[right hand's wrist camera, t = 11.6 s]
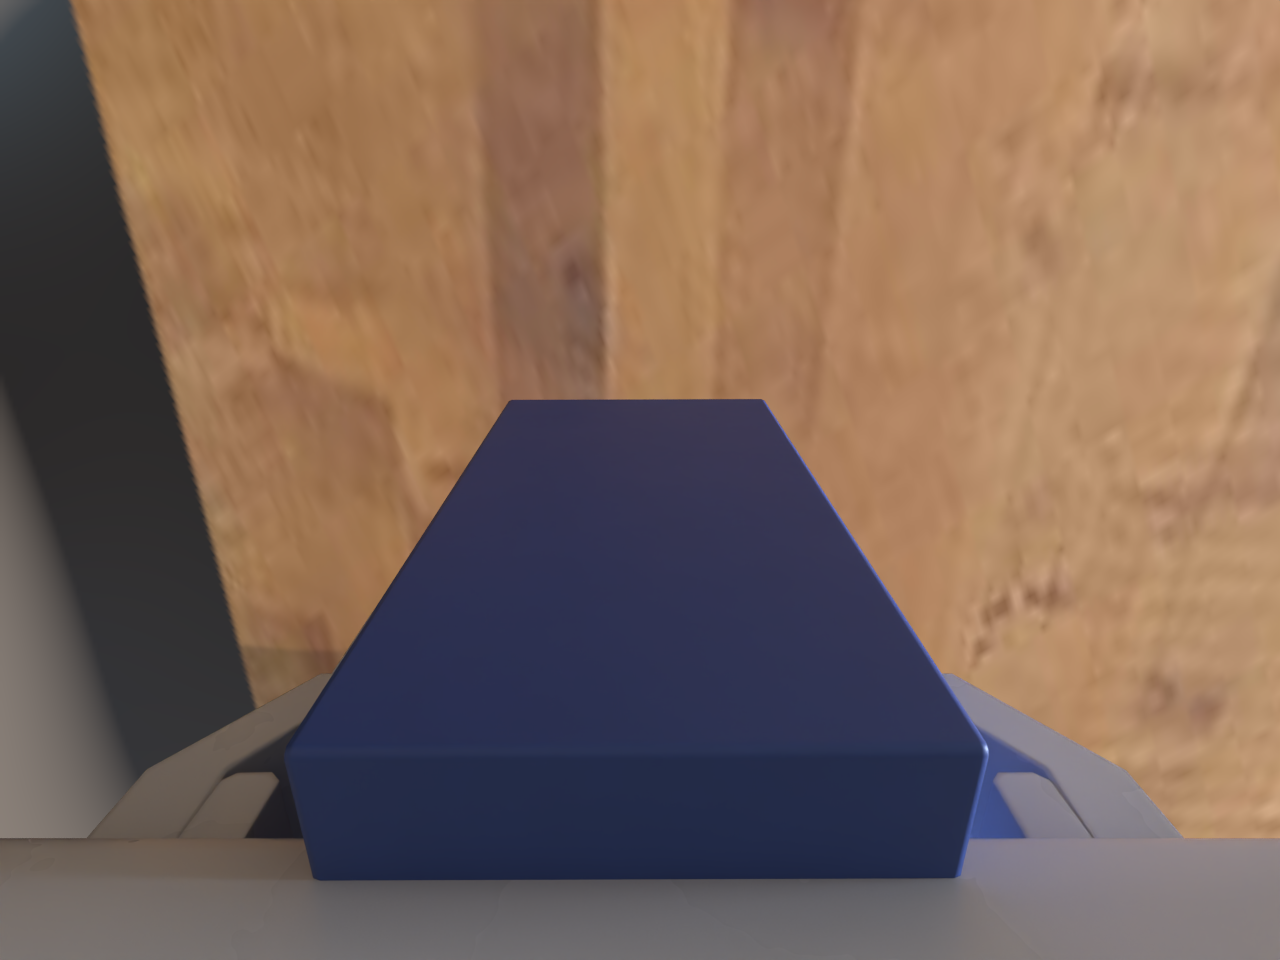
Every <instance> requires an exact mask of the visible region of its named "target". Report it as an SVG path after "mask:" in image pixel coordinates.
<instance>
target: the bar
mask: <svg viewBox="0 0 1280 960" xmlns="http://www.w3.org/2000/svg"><path fill="white" fill-rule="evenodd" d="M988 758H989V752H988V747H987V743H986V742H985V740H984V738H983V737H982V735H981V734H980V732H979V731H978V729H977V728H976V726H975V725H974V723H973V722H972V720H971V718H970V717H969V715H968V714H967V712H966V711H965V709H964V708H963V706H962V705H961V703H960V701H959V700H958V698H957V697H956V695H955V694H954V692H953V691H952V689H951V688H950V686H949V685H948V683H947V681H946V680H945V678H944V677H943V675H942V674H941V672H940V671H939V669H938V668H937V666H936V664H935V663H934V661H933V660H932V658H931V657H930V655H929V654H928V652H927V651H926V649H925V648H924V646H923V644H922V643H921V641H920V640H919V638H918V637H917V635H916V634H915V632H914V631H913V629H912V628H911V626H910V624H909V623H908V621H907V620H906V618H905V617H904V615H903V614H902V612H901V611H900V609H899V607H898V606H897V604H896V603H895V601H894V600H893V598H892V597H891V595H890V594H889V592H888V591H887V589H886V587H885V586H884V584H883V583H882V581H881V580H880V578H879V577H878V575H877V574H876V572H875V570H874V569H873V567H872V566H871V564H870V563H869V561H868V560H867V558H866V557H865V555H864V554H863V552H862V550H861V549H860V547H859V546H858V544H857V543H856V541H855V540H854V538H853V537H852V535H851V534H850V532H849V530H848V529H847V527H846V526H845V524H844V523H843V521H842V520H841V518H840V517H839V515H838V513H837V512H836V510H835V509H834V507H833V506H832V504H831V503H830V501H829V500H828V498H827V497H826V495H825V493H824V492H823V490H822V489H821V487H820V486H819V484H818V483H817V481H816V480H815V478H814V476H813V475H812V473H811V472H810V470H809V469H808V467H807V466H806V464H805V463H804V461H803V460H802V458H801V456H800V455H799V453H798V452H797V450H796V449H795V447H794V446H793V444H792V443H791V441H790V440H789V438H788V436H787V435H786V433H785V432H784V430H783V429H782V427H781V426H780V424H779V423H778V421H777V419H776V418H775V416H774V415H773V413H772V412H771V410H770V409H769V407H768V406H767V404H766V403H765V401H764V400H762V399H692V400H511V401H509V402H508V404H507V405H506V407H505V408H504V410H503V411H502V413H501V414H500V416H499V417H498V419H497V421H496V422H495V424H494V425H493V427H492V428H491V430H490V431H489V433H488V434H487V436H486V438H485V439H484V441H483V442H482V444H481V445H480V447H479V448H478V450H477V452H476V453H475V455H474V456H473V458H472V459H471V461H470V462H469V464H468V465H467V467H466V469H465V470H464V472H463V473H462V475H461V476H460V478H459V479H458V481H457V483H456V484H455V486H454V487H453V489H452V490H451V492H450V493H449V495H448V496H447V498H446V500H445V501H444V503H443V504H442V506H441V507H440V509H439V510H438V512H437V513H436V515H435V517H434V518H433V520H432V521H431V523H430V524H429V526H428V527H427V529H426V531H425V532H424V534H423V535H422V537H421V538H420V540H419V541H418V543H417V544H416V546H415V548H414V549H413V551H412V552H411V554H410V555H409V557H408V558H407V560H406V561H405V563H404V565H403V566H402V568H401V569H400V571H399V572H398V574H397V575H396V577H395V579H394V580H393V582H392V583H391V585H390V586H389V588H388V589H387V591H386V592H385V594H384V596H383V597H382V599H381V600H380V602H379V603H378V605H377V606H376V608H375V610H374V611H373V613H372V614H371V616H370V617H369V619H368V620H367V622H366V623H365V625H364V627H363V628H362V630H361V631H360V633H359V634H358V636H357V637H356V639H355V640H354V642H353V644H352V645H351V647H350V648H349V650H348V651H347V653H346V654H345V656H344V658H343V659H342V661H341V662H340V664H339V665H338V667H337V668H336V670H335V671H334V673H333V675H332V676H331V678H330V679H329V681H328V682H327V684H326V685H325V687H324V688H323V690H322V692H321V693H320V695H319V696H318V698H317V699H316V701H315V702H314V704H313V706H312V707H311V709H310V710H309V712H308V713H307V715H306V716H305V718H304V719H303V721H302V723H301V724H300V726H299V727H298V729H297V730H296V732H295V733H294V735H293V737H292V738H291V740H290V741H289V743H288V744H287V746H286V749H285V753H284V762H285V766H286V770H287V774H288V778H289V782H290V786H291V790H292V794H293V798H294V802H295V807H296V811H297V815H298V819H299V823H300V827H301V831H302V835H303V839H304V843H305V847H306V851H307V855H308V859H309V863H310V867H311V871H312V875H313V878H314V879H317V880H320V881H350V880H622V879H895V878H956V877H958V876H961V871H962V867H963V863H964V859H965V854H966V850H967V846H968V842H969V838H970V833H971V829H972V825H973V821H974V817H975V812H976V808H977V804H978V800H979V796H980V791H981V787H982V783H983V779H984V775H985V770H986V766H987V762H988Z"/></svg>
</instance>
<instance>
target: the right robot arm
mask: <svg viewBox="0 0 1280 960" xmlns="http://www.w3.org/2000/svg"><path fill="white" fill-rule="evenodd" d="M372 613H373V612H372ZM372 613H371V614H372ZM370 616H371V615H370ZM370 616H369V617H370ZM368 619H369V618H368ZM368 619H367V620H368ZM366 622H367V621H366ZM366 622H365V623H366ZM364 625H365V624H364ZM364 625H363V627H364ZM363 627H362V628H363ZM362 628H361V630H362ZM361 630H360V631H361ZM360 631H359V633H360ZM359 633H358V634H359ZM358 634H357V636H358ZM357 636H356V637H357ZM356 637H355V639H356ZM355 639H354V640H355ZM353 642H354V641H353ZM353 642H352V644H353ZM352 644H351V645H352ZM351 645H350V647H351ZM350 647H349V648H350ZM349 648H348V650H349ZM348 650H347V651H348ZM347 651H346V653H347ZM346 653H345V654H346ZM345 654H344V656H345ZM344 656H343V657H342V659H343V658H344ZM342 659H341V660H340V662H341V661H342ZM340 662H339V663H338V665H339V664H340ZM338 665H337V666H336V668H337V667H338ZM336 668H335V669H334V671H335V670H336ZM334 671H333V672H332V674H320V675H318V676H316V677H314V678H312V679H310V680H309V681H307V682H305V683H303V684H301V685H300V686H298V687H296V688H294V689H292V690H290V691H289V692H287V693H285V694H283V695H281V696H280V697H278V698H276V699H274V700H272V701H270V702H269V703H267V704H265V705H263V706H261V707H259V708H258V709H256V710H254V711H252V712H250V713H249V714H247V715H245V716H243V717H241V718H239V719H238V720H236V721H234V722H232V723H230V724H229V725H227V726H225V727H223V728H221V729H219V730H218V731H216V732H214V733H212V734H210V735H209V736H207V737H205V738H203V739H201V740H199V741H198V742H196V743H194V744H192V745H190V746H188V747H187V748H185V749H183V750H181V751H179V752H178V753H176V754H174V755H172V756H170V757H168V758H167V759H165V760H163V761H161V762H159V763H158V764H156V765H154V766H152V767H150V768H148V769H147V770H146V771H145V772H144V773H143V774H142V775H141V777H140V778H139V779H138V780H137V781H136V782H135V783H134V785H133V786H132V787H131V788H130V789H129V790H128V791H127V793H126V794H125V795H124V796H123V797H122V798H121V799H120V801H119V802H118V803H117V804H116V805H115V806H114V808H113V809H112V810H111V811H110V812H109V813H108V814H107V815H106V817H105V818H104V819H103V820H102V821H101V822H100V823H99V825H98V826H97V827H96V828H95V829H94V830H93V831H92V833H91V834H90V835H89V836H88V837H87V838H0V960H1280V838H1183V837H1182V835H1181V834H1180V833H1179V832H1178V831H1177V830H1176V828H1175V827H1174V826H1173V825H1172V824H1171V823H1170V821H1169V820H1168V819H1167V818H1166V817H1165V815H1164V814H1163V813H1162V812H1161V811H1160V810H1159V808H1158V807H1157V806H1156V805H1155V804H1154V803H1153V801H1152V800H1151V799H1150V798H1149V797H1148V796H1147V794H1146V793H1145V792H1144V791H1143V790H1142V789H1141V787H1140V786H1139V785H1138V784H1137V783H1136V782H1135V780H1134V779H1133V778H1132V777H1131V776H1130V774H1129V773H1128V772H1127V771H1126V770H1124V769H1122V768H1121V767H1119V766H1117V765H1115V764H1113V763H1112V762H1110V761H1108V760H1106V759H1104V758H1103V757H1101V756H1099V755H1097V754H1096V753H1094V752H1092V751H1090V750H1088V749H1087V748H1085V747H1083V746H1081V745H1079V744H1078V743H1076V742H1074V741H1072V740H1070V739H1069V738H1067V737H1065V736H1063V735H1061V734H1060V733H1058V732H1056V731H1054V730H1052V729H1051V728H1049V727H1047V726H1045V725H1043V724H1042V723H1040V722H1038V721H1036V720H1034V719H1033V718H1031V717H1029V716H1027V715H1025V714H1024V713H1022V712H1020V711H1018V710H1016V709H1015V708H1013V707H1011V706H1009V705H1007V704H1006V703H1004V702H1002V701H1000V700H998V699H997V698H995V697H993V696H991V695H989V694H988V693H986V692H984V691H982V690H980V689H979V688H977V687H975V686H973V685H971V684H970V683H968V682H966V681H964V680H962V679H961V678H959V677H957V676H955V675H953V674H942V675H943V677H944V678H945V680H946V681H947V683H948V685H949V686H950V688H951V689H952V691H953V692H954V694H955V695H956V697H957V698H958V700H959V701H960V703H961V705H962V706H963V708H964V709H965V711H966V712H967V714H968V715H969V717H970V718H971V720H972V722H973V723H974V725H975V726H976V728H977V729H978V731H979V732H980V734H981V735H982V737H983V738H984V740H985V742H986V743H987V747H988V752H989V758H988V762H987V766H986V770H985V775H984V779H983V783H982V787H981V791H980V796H979V800H978V804H977V808H976V812H975V817H974V821H973V825H972V829H971V833H970V838H969V842H968V846H967V850H966V854H965V859H964V863H963V867H962V871H961V876H958V877H956V878H895V879H622V880H350V881H320V880H317V879H314V878H313V875H312V871H311V867H310V863H309V859H308V855H307V851H306V847H305V843H304V839H303V835H302V831H301V827H300V823H299V819H298V815H297V811H296V807H295V802H294V798H293V794H292V790H291V786H290V782H289V778H288V774H287V770H286V766H285V762H284V753H285V749H286V746H287V744H288V743H289V741H290V740H291V738H292V737H293V735H294V733H295V732H296V730H297V729H298V727H299V726H300V724H301V723H302V721H303V719H304V718H305V716H306V715H307V713H308V712H309V710H310V709H311V707H312V706H313V704H314V702H315V701H316V699H317V698H318V696H319V695H320V693H321V692H322V690H323V688H324V687H325V685H326V684H327V682H328V681H329V679H330V678H331V676H332V675H333V673H334Z"/></svg>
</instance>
